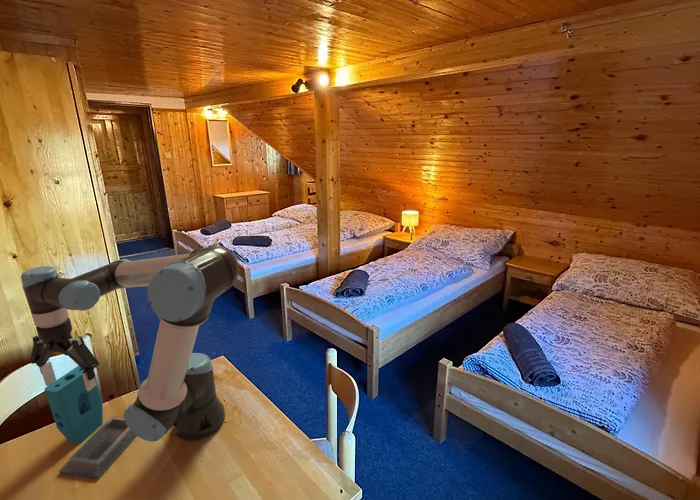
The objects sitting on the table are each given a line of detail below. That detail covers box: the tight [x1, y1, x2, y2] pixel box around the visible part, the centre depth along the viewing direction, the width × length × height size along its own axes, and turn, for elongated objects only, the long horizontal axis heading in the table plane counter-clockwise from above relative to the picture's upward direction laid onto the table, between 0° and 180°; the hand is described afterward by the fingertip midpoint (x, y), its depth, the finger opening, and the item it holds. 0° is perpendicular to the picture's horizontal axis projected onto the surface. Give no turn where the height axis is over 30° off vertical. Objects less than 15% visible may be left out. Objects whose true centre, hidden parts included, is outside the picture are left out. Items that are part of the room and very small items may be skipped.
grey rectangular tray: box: [58, 416, 138, 480], centre depth 109 cm, size 12×20×3 cm, turn 171°
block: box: [44, 365, 104, 444], centre depth 111 cm, size 12×5×20 cm, turn 167°
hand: (71, 385), depth 109 cm, fingers open, 13 cm apart
